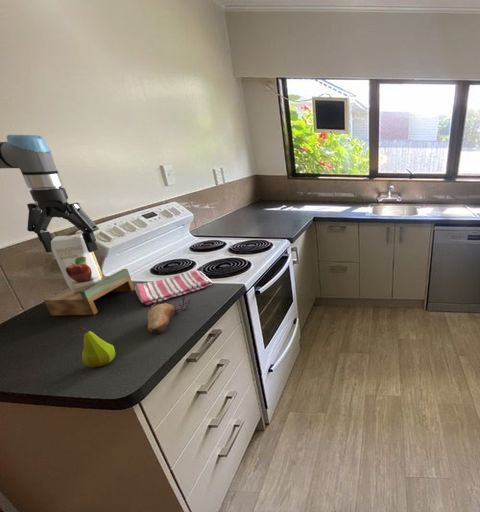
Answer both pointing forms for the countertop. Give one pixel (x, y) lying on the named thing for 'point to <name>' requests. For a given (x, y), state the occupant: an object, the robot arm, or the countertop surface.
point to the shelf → (88, 295)
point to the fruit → (96, 350)
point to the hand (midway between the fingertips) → (72, 251)
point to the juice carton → (76, 262)
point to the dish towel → (171, 287)
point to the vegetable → (161, 316)
